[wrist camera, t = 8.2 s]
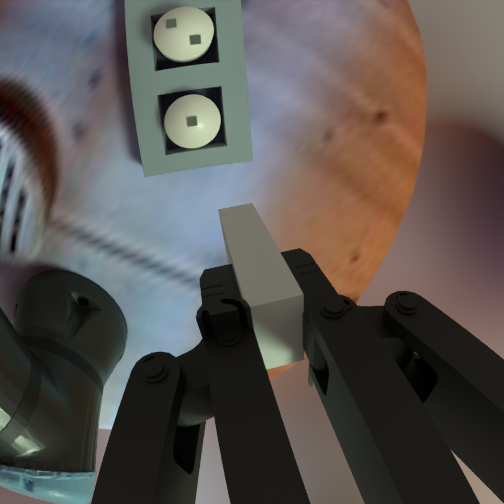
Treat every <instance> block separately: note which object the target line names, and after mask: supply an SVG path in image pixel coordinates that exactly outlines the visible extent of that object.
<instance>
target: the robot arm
mask: <svg viewBox="0 0 504 504" xmlns="http://www.w3.org/2000/svg"><path fill="white" fill-rule="evenodd" d="M219 216H220V221H221V226H222V232H223V237H224V242H225V248H226V253H227V258H228V263H229V265H224V266H219V267H215V268H210V269H205V270H204V272H203V274H202V275H201V277H200V288H201V297H202V306H201V307H200V308H199V310H198V311H197V315H196V320H197V323H198V326H199V329H200V332H201V335H202V338H203V339H202V340H201V342H200V343H199V344H198V345H197V346H196V347H195V348H194V349H192V350H190V351H188V352H187V353H184V354H182V355H180V356H178V357H175V356H173V355H172V354H170V353H166V352H154V353H150V354H148V355H146V356H143V357H142V358H141V359H140V360H139V361H137V362H136V364H135V366H134V367H133V369H132V371H131V374H130V377H129V379H128V382H127V385H126V388H125V391H124V394H123V397H122V400H121V403H120V406H119V409H118V412H117V415H116V418H115V421H114V424H113V427H112V431H111V434H110V437H109V440H108V444H107V447H106V451H105V454H104V457H103V461H102V464H101V468H100V471H99V475H98V479H97V483H96V486H95V490H94V494H93V498H92V492H93V486H94V479H95V476H96V471H95V464H96V448H97V436H98V426H99V417H100V409H101V402H102V395H103V388H104V385H105V383H106V382H107V380H108V378H109V377H110V375H111V373H112V372H113V370H114V368H115V366H116V365H117V363H118V362H119V361H120V359H121V358H122V356H123V354H124V351H125V346H126V340H127V333H128V331H127V323H126V320H125V317H124V315H123V313H122V311H121V309H120V308H119V306H118V305H117V303H116V302H115V301H114V300H113V298H112V297H111V296H110V295H109V294H108V293H107V292H105V291H104V290H103V289H102V288H100V287H99V286H98V285H96V284H95V283H93V282H91V281H90V280H88V279H86V278H84V277H81V276H79V275H76V274H73V273H69V272H64V271H46V272H42V273H39V274H37V275H35V276H33V277H32V278H30V279H29V280H28V281H27V283H26V284H25V285H24V287H23V289H22V290H21V292H20V294H19V295H18V297H17V300H16V303H15V310H14V317H15V319H14V323H13V325H12V324H11V322H10V321H9V319H8V318H7V317H6V315H5V314H4V312H3V311H2V309H1V308H0V486H2V487H4V488H7V489H9V490H12V491H15V492H18V493H20V494H24V495H27V496H30V497H33V498H37V499H40V500H44V501H48V502H52V503H57V504H88V503H89V502H90V500H91V498H92V502H91V504H195V499H196V491H197V484H198V476H199V468H200V461H201V453H202V446H203V438H204V431H205V424H206V420H208V419H210V418H212V417H214V418H215V424H216V430H217V436H218V442H219V447H220V453H221V458H222V464H223V469H224V474H225V479H226V484H227V489H228V494H229V498H230V503H231V504H310V501H309V498H308V495H307V492H306V489H305V487H304V484H303V481H302V478H301V475H300V472H299V469H298V466H297V463H296V460H295V457H294V454H293V451H292V448H291V446H290V442H289V439H288V436H287V433H286V430H285V427H284V424H283V420H282V418H281V415H280V411H279V409H278V405H277V402H276V399H275V396H274V392H273V389H272V386H271V383H270V380H269V377H268V374H267V369H271V368H275V367H279V366H282V365H286V364H290V363H294V362H297V361H301V360H304V350H305V353H306V355H307V357H308V359H309V379H308V381H309V386H312V385H313V382H314V384H315V386H316V389H317V391H318V394H319V396H320V398H321V401H322V403H323V405H324V408H325V410H326V412H327V415H328V417H329V420H330V422H331V424H332V427H333V429H334V431H335V434H336V436H337V438H338V441H339V443H340V446H341V448H342V450H343V453H344V455H345V457H346V460H347V462H348V465H349V467H350V469H351V472H352V474H353V477H354V479H355V481H356V484H357V486H358V489H359V491H360V493H361V496H362V498H363V500H364V502H365V504H480V503H479V501H478V500H477V497H476V495H475V494H474V492H473V490H472V488H471V486H470V484H469V482H468V480H467V478H466V477H465V475H464V473H463V471H462V469H461V468H460V466H459V464H458V462H457V461H456V459H455V457H454V455H453V453H452V452H451V450H452V451H453V452H454V453H455V454H456V455H457V456H458V457H459V458H460V459H461V460H462V461H463V462H464V463H465V464H466V465H467V466H468V468H469V469H471V471H472V472H474V474H475V475H476V476H477V477H478V478H479V479H480V480H481V481H482V482H483V483H484V484H485V485H486V486H487V487H488V488H489V489H490V490H492V492H493V493H494V494H495V495H496V496H497V497H498V498H499V499H500V500H501V501H502V502H503V503H504V359H502V358H501V357H500V356H499V355H497V354H496V353H495V352H494V351H493V350H491V349H490V348H489V347H488V346H486V345H485V344H484V343H482V342H481V341H480V340H479V339H477V338H476V337H475V336H474V335H472V334H471V333H470V332H469V331H467V330H466V329H465V328H463V327H462V326H461V325H459V324H458V323H457V322H455V321H454V320H453V319H451V318H450V317H449V316H447V315H446V314H445V313H443V312H442V311H441V310H439V309H438V308H437V307H435V306H434V305H432V304H431V303H430V302H428V301H427V300H426V299H424V298H423V297H421V296H420V295H418V294H416V293H413V292H409V291H397V292H395V293H392V294H390V295H389V296H388V297H387V298H386V302H385V305H384V306H357V305H356V303H355V302H354V301H352V300H351V299H350V298H348V297H346V296H343V295H338V293H337V292H336V290H335V289H334V287H333V286H332V285H331V283H330V282H329V280H328V279H327V277H326V276H325V275H324V273H323V272H322V271H321V269H320V267H319V266H318V265H317V264H316V262H315V260H314V259H313V258H312V256H311V255H310V254H309V253H307V252H305V251H304V250H302V249H300V248H299V249H294V250H290V251H285V252H280V251H279V249H278V248H277V246H276V244H275V242H274V240H273V239H272V237H271V235H270V233H269V232H268V230H267V228H266V226H265V225H264V223H263V221H262V219H261V218H260V216H259V214H258V213H257V211H256V209H255V207H254V206H253V204H252V203H250V204H245V205H240V206H234V207H229V208H224V209H219ZM414 352H415V353H417V354H418V355H417V354H415V353H414ZM450 449H451V450H450Z"/></svg>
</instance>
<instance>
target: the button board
mask: <svg viewBox="0 0 504 504" xmlns="http://www.w3.org/2000/svg"><path fill="white" fill-rule="evenodd" d="M179 7H194V8H198V9H200V10H202V11H204V12H205V13H206V14H207V15H208V14H213V19H214V31H215V44H216V56H217V63H208V64H199V65H191V66H184V67H178V68H171V69H165V70H160V71H158V66H157V54H156V44H155V41H154V29H155V28H154V22H157V21H159V19H160V18H161V17H162V16H163V15H164V14H166V13H167V12H169V11H170V10H173V9H175V8H179ZM125 24H126V40H127V53H128V65H129V75H130V84H131V93H132V101H133V109H134V116H135V123H136V130H137V136H138V143H139V149H140V154H141V160H142V166H143V171H144V177H148V176H153V175H159V174H164V173H170V172H176V171H182V170H189V169H195V168H202V167H209V166H216V165H224V164H232V163H240V162H249V161H253V155H252V141H251V127H250V114H249V101H248V88H247V75H246V62H245V49H244V37H243V24H242V12H241V0H125ZM214 87H219V91H220V102H221V113H222V123H223V134H224V142H218V143H210V144H206V145H204V146H202V147H198V148H184V147H183V148H177V149H171V150H168V148H167V141H166V134H165V127H164V119H163V111H162V103H161V95H165V94H171V93H177V92H183V91H190V90H197V89H205V88H214Z"/></svg>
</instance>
